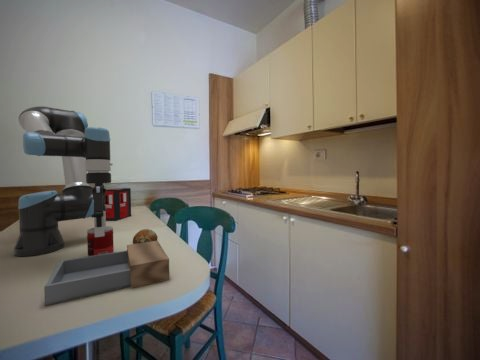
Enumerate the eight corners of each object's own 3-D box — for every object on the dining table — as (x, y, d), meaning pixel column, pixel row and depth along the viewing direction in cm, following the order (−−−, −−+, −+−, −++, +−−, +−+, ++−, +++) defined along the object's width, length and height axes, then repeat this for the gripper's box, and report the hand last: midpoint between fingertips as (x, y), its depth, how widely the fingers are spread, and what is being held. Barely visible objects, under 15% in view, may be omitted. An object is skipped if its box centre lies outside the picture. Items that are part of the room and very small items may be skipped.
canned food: (118, 255, 85) (117, 226, 85) (103, 264, 77) (102, 231, 77) (99, 254, 86) (98, 225, 85) (82, 263, 78) (81, 231, 77)
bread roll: (159, 250, 101) (164, 232, 104) (144, 247, 92) (149, 227, 95) (141, 248, 104) (146, 230, 107) (125, 244, 95) (131, 225, 98)
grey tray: (44, 305, 53) (44, 286, 53) (60, 275, 69) (60, 260, 68) (130, 286, 62) (130, 270, 61) (127, 263, 77) (127, 250, 77)
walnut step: (130, 288, 61) (130, 265, 60) (127, 262, 78) (126, 245, 78) (169, 279, 66) (169, 258, 65) (157, 256, 83) (157, 240, 83)
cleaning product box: (115, 221, 146) (114, 190, 145) (102, 220, 147) (101, 190, 146) (131, 216, 162) (130, 188, 161) (119, 216, 163) (118, 188, 162)
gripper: (110, 171, 71) (112, 238, 72) (111, 172, 93) (113, 224, 93) (81, 171, 68) (83, 242, 68) (89, 173, 89) (91, 226, 90)
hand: (100, 232), depth 81 cm, fingers open, 13 cm apart
